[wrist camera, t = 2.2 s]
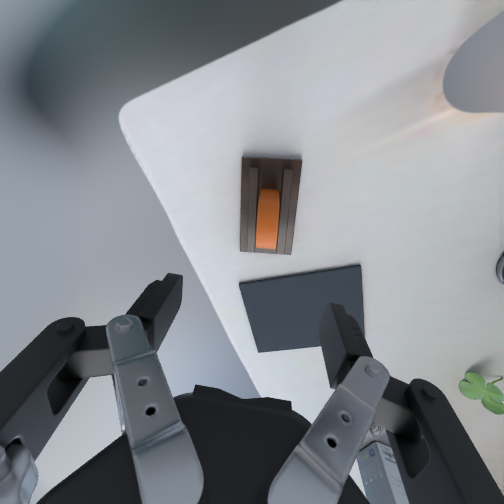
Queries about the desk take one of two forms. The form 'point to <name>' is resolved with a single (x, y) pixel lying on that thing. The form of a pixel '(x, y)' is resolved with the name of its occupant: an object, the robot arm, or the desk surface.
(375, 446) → the hard drive box
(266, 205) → the orange curved block
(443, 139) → the desk surface
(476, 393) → the green clover
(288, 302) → the felt mat
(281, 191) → the holder
